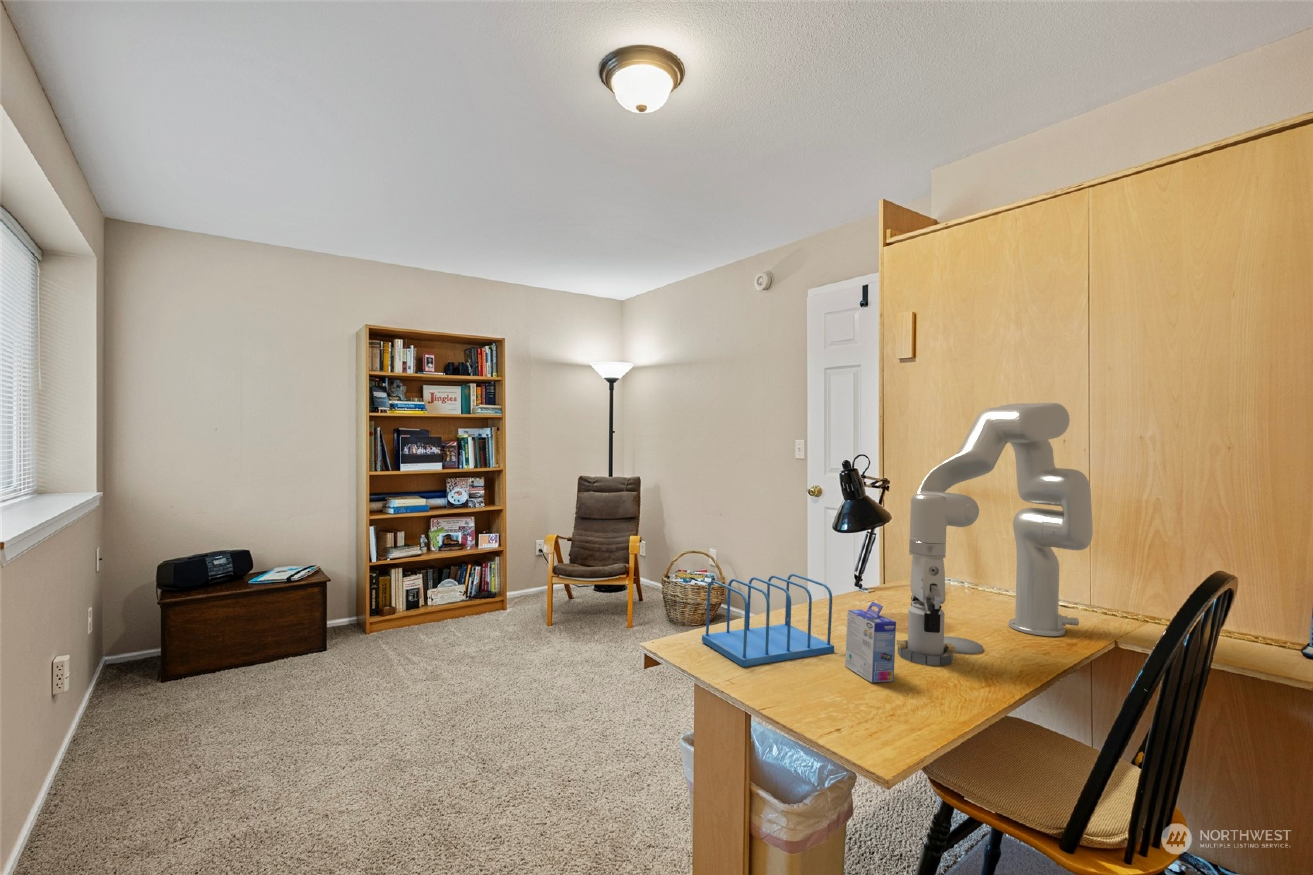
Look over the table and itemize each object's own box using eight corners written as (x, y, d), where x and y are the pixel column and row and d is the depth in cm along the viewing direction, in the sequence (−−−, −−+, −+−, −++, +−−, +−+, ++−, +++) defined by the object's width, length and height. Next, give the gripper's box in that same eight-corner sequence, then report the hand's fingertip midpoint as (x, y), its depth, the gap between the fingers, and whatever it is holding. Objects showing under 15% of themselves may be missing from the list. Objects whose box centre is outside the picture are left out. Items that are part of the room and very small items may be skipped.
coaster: (972, 640, 152) (972, 637, 152) (991, 655, 141) (991, 653, 141) (925, 637, 153) (925, 635, 153) (940, 652, 142) (940, 650, 142)
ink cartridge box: (896, 682, 124) (898, 609, 124) (872, 684, 123) (874, 611, 123) (866, 664, 134) (868, 597, 134) (843, 666, 132) (845, 598, 132)
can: (945, 655, 141) (946, 602, 141) (941, 665, 134) (942, 609, 134) (909, 648, 145) (911, 597, 145) (904, 658, 138) (905, 604, 138)
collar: (944, 649, 144) (944, 637, 144) (962, 667, 133) (962, 653, 133) (891, 646, 146) (891, 634, 146) (904, 663, 135) (905, 650, 135)
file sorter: (742, 668, 130) (744, 595, 130) (700, 643, 146) (702, 577, 146) (834, 653, 141) (836, 585, 141) (787, 630, 157) (788, 570, 157)
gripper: (959, 557, 130) (956, 638, 130) (932, 544, 148) (929, 616, 147) (921, 554, 131) (919, 636, 131) (899, 542, 148) (896, 614, 148)
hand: (924, 625), depth 139 cm, fingers open, 9 cm apart
